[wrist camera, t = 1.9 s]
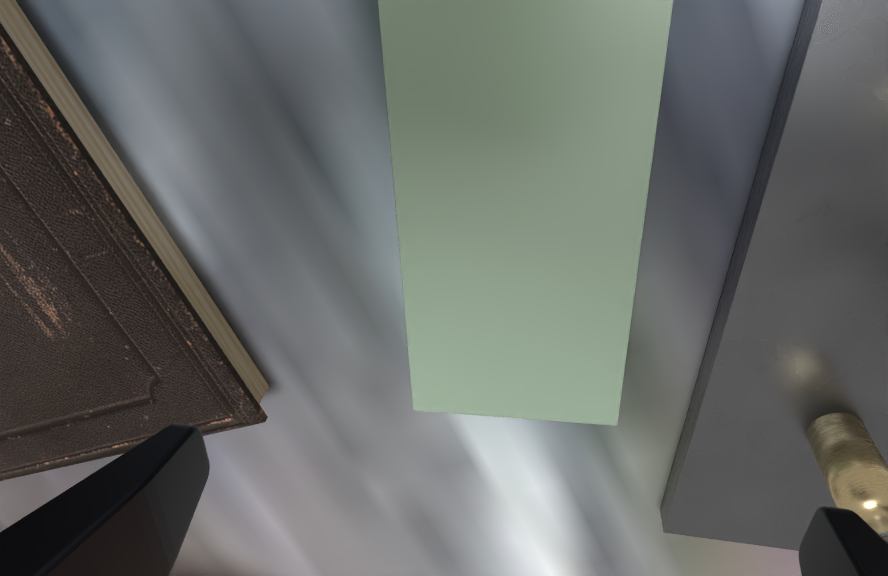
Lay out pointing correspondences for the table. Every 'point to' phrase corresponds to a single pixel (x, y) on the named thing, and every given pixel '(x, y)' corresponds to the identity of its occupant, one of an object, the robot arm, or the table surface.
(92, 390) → the hardcover book
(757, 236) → the standoff chassis
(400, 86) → the green block
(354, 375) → the table surface
